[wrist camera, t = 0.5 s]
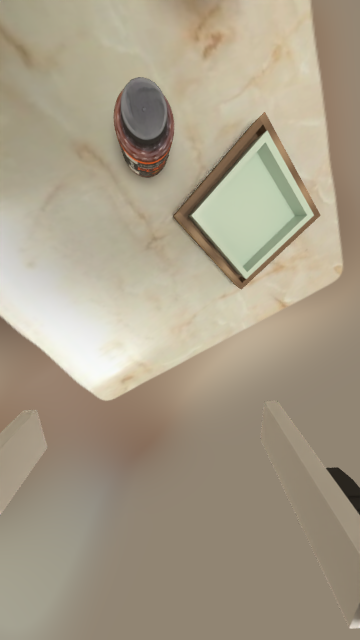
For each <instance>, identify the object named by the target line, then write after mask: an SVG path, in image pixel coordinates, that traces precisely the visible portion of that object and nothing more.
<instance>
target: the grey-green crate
mask: <svg viewBox="0 0 360 640" xmlns="http://www.w3.org/2000/svg"><path fill="white" fill-rule="evenodd" d="M313 216H314V214H313V212H312V210H311V209H310V207H309V205H308V203H307V201H306V200H305V198H304V196H303V194H302V192H301V191H300V189H299V187H298V185H297V183H296V181H295V180H294V178H293V176H292V174H291V172H290V171H289V169H288V167H287V165H286V163H285V162H284V160H283V158H282V156H281V154H280V153H279V151H278V149H277V147H276V145H275V144H274V142H273V140H272V138H271V136H270V134H269V133H268V131H266V132H264V133H263V134H262V135H260V136H259V137H258V138H257V139H255V140H254V141H253V142H252V143H251V145H250V146H249V147H248V148H247V149H246V150H245V151H244V152H243V154H242V155H241V156H240V157H239V158H238V159H237V160H236V162H235V163H234V164H233V165H232V166H231V167H230V168H229V169H228V171H227V172H226V173H225V174H224V175H223V176H222V177H221V179H220V180H219V181H218V182H217V183H216V184H215V185H214V186H213V188H212V189H211V190H210V191H209V192H208V193H207V194H206V196H205V197H204V198H203V199H202V200H201V201H200V202H199V204H198V205H197V206H196V207H195V208H194V209H193V210H192V211H191V213H190V214H189V215H188V218H189V219H190V220H191V221H192V222H193V223H194V225H195V226H196V227H197V228H198V229H199V230H200V231H201V233H202V234H203V235H204V236H205V237H206V238H207V239H208V241H209V242H210V243H211V244H212V245H213V246H214V248H215V249H216V250H217V251H218V252H219V253H220V254H221V256H222V257H223V258H224V259H225V260H226V261H227V262H228V264H229V265H230V266H231V267H232V268H233V269H234V271H235V272H236V273H237V274H238V275H240V276H242V277H243V278H245V279H247V278H248V277H249V276H250V275H251V274H252V273H253V272H254V271H255V270H257V269H258V268H259V267H260V266H261V265H262V264H263V263H264V262H265V261H266V260H267V259H268V258H269V257H270V256H271V255H272V254H273V253H275V252H276V251H277V250H278V249H279V248H280V247H281V246H282V245H283V244H284V243H285V242H286V241H287V240H288V239H289V238H290V237H291V236H293V235H294V234H295V233H296V232H297V231H298V230H299V229H300V228H301V227H302V226H303V225H304V224H305V223H306V222H307V221H308V220H309V219H311V218H312V217H313Z"/></svg>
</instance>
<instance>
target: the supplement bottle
mask: <svg viewBox="0 0 360 640" xmlns="http://www.w3.org/2000/svg"><path fill="white" fill-rule="evenodd" d="M114 126H115V131H116V135H117V138H118V141H119V144H120V147H121V150H122V153H123V156H124V158H125V161H126V162H127V164H128V166H129V167H130V168H131V169H132V170H133V171H134V172H135V173H136V174H138V175H140V176H143V177H152V176H154V175H157V174H158V173H159V172H160V171H161V170H162V169H163V167H164V165H165V164H166V161H167V158H168V156H169V155H168V154H169V151H170V148H171V144H172V140H173V135H174V119H173V114H172V110H171V107H170V105H169V103H168V101H167V99H166V97H165V96H164V95H163V93H162V91H161V90H160V88H159V87H158V86H157V85H156V84H155V83H154V82H153V81H151V80H150V79H147V78H143V77H138V78H135V79H132V80H131V81H130V82H129V83H128V84H127V85H126V86H125V88H124V89H123V90H122V91H121V93H120V94H119V96H118V98H117V101H116V104H115V109H114Z"/></svg>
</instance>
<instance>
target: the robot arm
mask: <svg viewBox="0 0 360 640" xmlns="http://www.w3.org/2000/svg"><path fill="white" fill-rule="evenodd" d="M260 439H261V441H262V444H263V446H264V448H265V450H266V452H267V454H268V456H269V459H270V461H271V462H272V465H273V467H274V469H275V471H276V473H277V476H278V478H279V480H280V482H281V484H282V486H283V488H284V490H285V492H286V495H287V497H288V499H289V501H290V503H291V505H292V507H293V510H294V511H295V514H296V516H297V518H298V520H299V522H300V524H301V526H302V529H303V531H304V533H305V535H306V537H307V539H308V541H309V544H310V545H311V548H312V550H313V552H314V554H315V556H316V559H317V561H318V563H319V565H320V567H321V569H322V571H323V573H324V576H325V578H326V580H327V582H328V584H329V586H330V588H331V590H332V592H333V595H334V597H335V599H336V601H337V603H338V605H339V607H340V610H341V612H342V614H343V616H344V618H345V620H346V622H347V624H348V626H349V628H360V488H359V487H358V485H357V484H356V483H355V482H354V481H353V479H351V478H350V477H349V476H348V475H346V474H345V473H344V472H343V471H342V470H340V469H339V468H325V466H324V465H323V464H322V462H321V461H320V460H319V458H318V457H317V455H316V454H315V453H314V451H313V450H312V448H311V447H310V446H309V444H308V443H307V442H306V440H305V439H304V437H303V436H302V435H301V433H300V432H299V430H298V429H297V428H296V426H295V425H294V423H293V422H292V421H291V419H290V418H289V417H288V415H287V414H286V412H285V411H284V410H283V408H282V407H281V405H280V404H279V403H278V401H265V402H264V409H263V418H262V428H261V438H260ZM46 448H47V444H46V440H45V437H44V433H43V430H42V426H41V423H40V419H39V415H38V412H37V410H26V411H25V410H24V411H23V412H22V413H21V414H20V415H19V416H18V417H16V418H15V419H14V420H13V421H12V422H11V423H10V424H9V425H8V426H7V427H6V428H5V429H4V430H3V431H2V432H1V433H0V515H1V513H2V512H3V510H4V509H5V508H6V506H7V505H8V503H9V502H10V500H11V499H12V498H13V496H14V494H15V493H16V492H17V490H18V489H19V487H20V486H21V485H22V483H23V482H24V480H25V479H26V477H27V476H28V474H29V473H30V472H31V470H32V469H33V467H34V466H35V465H36V463H37V462H38V460H39V459H40V457H41V456H42V454H43V453H44V452H45V450H46Z"/></svg>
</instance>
